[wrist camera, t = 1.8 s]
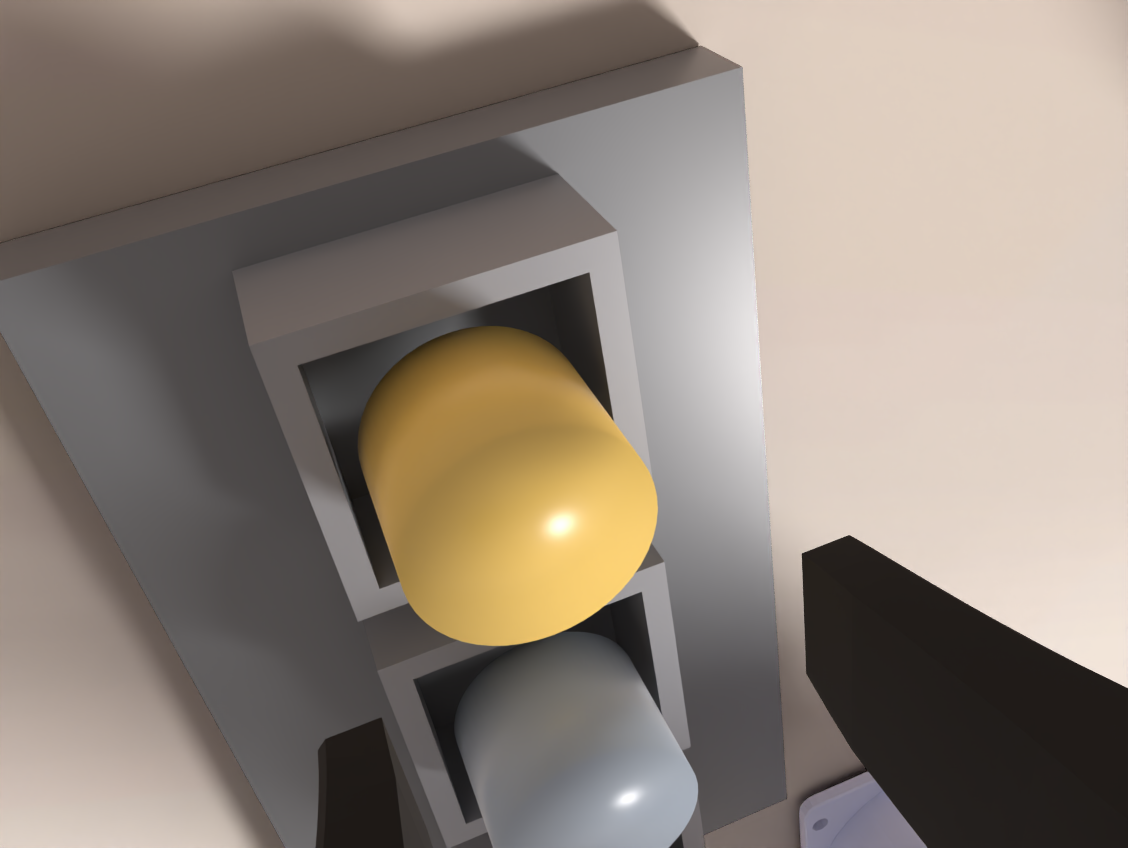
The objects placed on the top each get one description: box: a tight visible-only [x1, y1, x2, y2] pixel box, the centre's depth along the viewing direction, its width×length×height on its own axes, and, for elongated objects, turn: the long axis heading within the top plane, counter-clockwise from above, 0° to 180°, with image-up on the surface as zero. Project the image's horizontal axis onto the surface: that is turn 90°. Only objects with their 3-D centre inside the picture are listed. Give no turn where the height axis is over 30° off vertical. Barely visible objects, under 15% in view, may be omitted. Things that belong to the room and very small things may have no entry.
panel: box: [0, 46, 787, 848], centre depth 21 cm, size 20×12×4 cm, turn 10°
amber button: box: [358, 326, 658, 646], centre depth 15 cm, size 4×4×3 cm
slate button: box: [454, 632, 698, 848], centre depth 19 cm, size 4×4×3 cm
